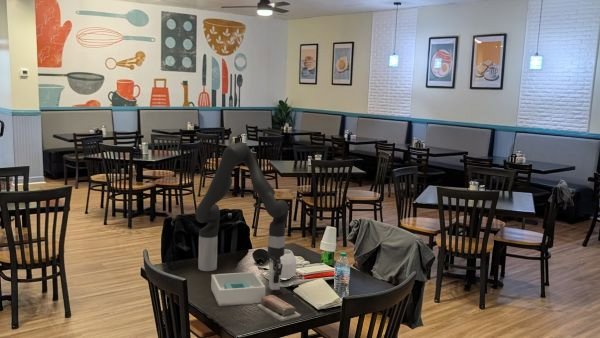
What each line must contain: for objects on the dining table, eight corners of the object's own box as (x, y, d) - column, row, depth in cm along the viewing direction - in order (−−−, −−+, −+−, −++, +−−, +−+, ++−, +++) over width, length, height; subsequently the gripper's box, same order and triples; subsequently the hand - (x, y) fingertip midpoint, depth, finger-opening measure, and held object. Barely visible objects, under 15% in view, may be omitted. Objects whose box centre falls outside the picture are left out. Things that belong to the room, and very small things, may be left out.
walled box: (211, 289, 250) (211, 274, 249) (253, 286, 257) (254, 271, 256) (219, 306, 232) (219, 290, 231) (264, 302, 238) (265, 287, 237)
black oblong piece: (248, 257, 284) (252, 238, 300) (256, 274, 289) (259, 253, 305) (265, 253, 282) (267, 233, 298) (273, 269, 287) (275, 249, 303)
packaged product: (256, 296, 233) (275, 292, 239) (256, 307, 233) (275, 302, 239) (282, 311, 219) (301, 306, 225) (281, 322, 219) (300, 317, 226)
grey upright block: (268, 286, 251) (270, 261, 249) (277, 286, 252) (278, 260, 250) (271, 289, 247) (272, 264, 245) (279, 289, 249) (281, 263, 247)
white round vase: (264, 279, 266) (265, 253, 264) (275, 272, 278) (276, 246, 276) (289, 284, 261) (290, 257, 259) (299, 276, 273) (301, 250, 272)
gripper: (264, 240, 252) (262, 276, 255) (272, 249, 239) (270, 287, 241) (279, 239, 255) (278, 275, 257) (289, 248, 241) (287, 286, 244)
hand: (274, 281), depth 249 cm, fingers closed on grey upright block, 4 cm apart
